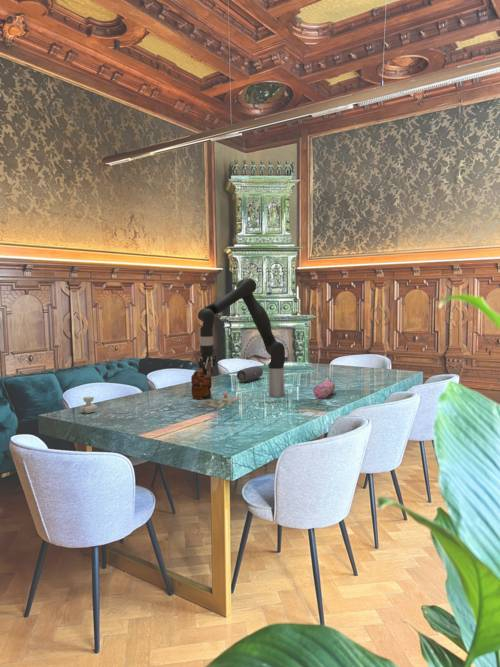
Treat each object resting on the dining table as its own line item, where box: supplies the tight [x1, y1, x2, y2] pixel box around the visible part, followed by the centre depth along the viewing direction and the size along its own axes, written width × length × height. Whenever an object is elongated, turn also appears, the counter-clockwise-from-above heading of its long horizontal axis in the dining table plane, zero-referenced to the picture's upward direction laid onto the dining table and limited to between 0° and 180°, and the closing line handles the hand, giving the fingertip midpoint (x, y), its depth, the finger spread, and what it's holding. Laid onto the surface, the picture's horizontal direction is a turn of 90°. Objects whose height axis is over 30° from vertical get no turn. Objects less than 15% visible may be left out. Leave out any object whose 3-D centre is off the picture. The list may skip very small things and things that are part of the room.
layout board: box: [199, 398, 235, 409], centre depth 257 cm, size 14×14×1 cm
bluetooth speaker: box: [236, 365, 264, 383], centre depth 330 cm, size 23×9×10 cm, turn 147°
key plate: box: [220, 391, 241, 402], centre depth 268 cm, size 8×8×4 cm
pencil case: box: [313, 378, 336, 399], centre depth 274 cm, size 21×9×9 cm, turn 156°
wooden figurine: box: [190, 368, 213, 401], centre depth 273 cm, size 12×6×18 cm, turn 121°
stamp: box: [79, 396, 98, 414], centre depth 243 cm, size 9×7×8 cm
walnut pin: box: [204, 363, 212, 378], centre depth 255 cm, size 4×4×8 cm
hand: (207, 374), depth 255 cm, fingers closed on walnut pin, 4 cm apart
